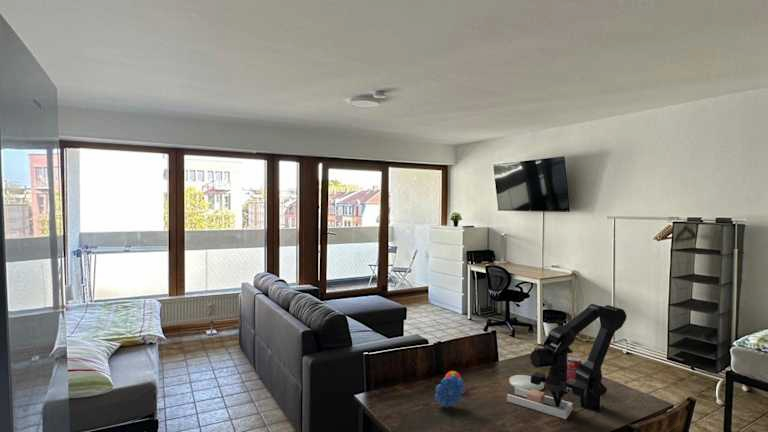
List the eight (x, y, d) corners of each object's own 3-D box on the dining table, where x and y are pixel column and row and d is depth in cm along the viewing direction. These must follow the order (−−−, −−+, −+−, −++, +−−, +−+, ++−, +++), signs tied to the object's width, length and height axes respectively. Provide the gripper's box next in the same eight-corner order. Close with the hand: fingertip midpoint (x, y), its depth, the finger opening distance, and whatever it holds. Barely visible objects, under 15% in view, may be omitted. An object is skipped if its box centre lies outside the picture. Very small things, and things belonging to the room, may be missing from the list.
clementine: (461, 393, 166) (461, 376, 166) (443, 392, 168) (444, 374, 167) (461, 385, 174) (461, 368, 174) (444, 383, 175) (445, 367, 175)
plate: (548, 383, 177) (548, 380, 177) (537, 394, 166) (537, 392, 166) (516, 374, 186) (516, 372, 186) (504, 384, 175) (504, 382, 175)
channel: (572, 409, 154) (572, 403, 154) (565, 419, 147) (565, 412, 147) (515, 393, 167) (515, 386, 167) (506, 401, 160) (507, 394, 160)
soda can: (578, 383, 177) (579, 355, 177) (584, 390, 170) (585, 361, 170) (561, 382, 178) (561, 354, 178) (566, 389, 171) (567, 361, 171)
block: (544, 404, 158) (544, 392, 158) (540, 409, 155) (540, 397, 154) (531, 400, 162) (531, 389, 161) (526, 405, 158) (527, 393, 158)
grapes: (461, 401, 160) (462, 370, 160) (466, 409, 153) (467, 377, 153) (431, 402, 159) (432, 371, 158) (435, 410, 152) (436, 378, 152)
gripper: (525, 364, 152) (524, 407, 152) (580, 378, 141) (579, 424, 141) (535, 356, 161) (534, 396, 161) (588, 368, 149) (587, 411, 150)
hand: (557, 406), depth 153 cm, fingers closed
